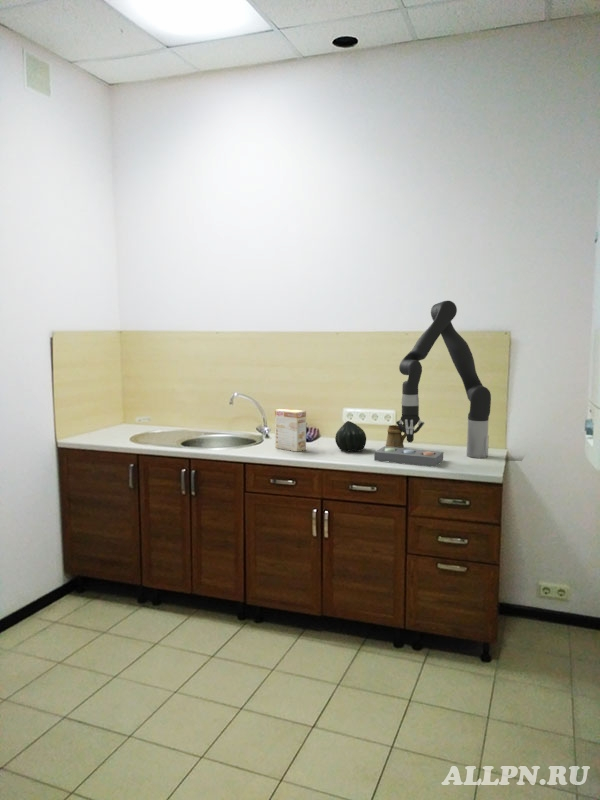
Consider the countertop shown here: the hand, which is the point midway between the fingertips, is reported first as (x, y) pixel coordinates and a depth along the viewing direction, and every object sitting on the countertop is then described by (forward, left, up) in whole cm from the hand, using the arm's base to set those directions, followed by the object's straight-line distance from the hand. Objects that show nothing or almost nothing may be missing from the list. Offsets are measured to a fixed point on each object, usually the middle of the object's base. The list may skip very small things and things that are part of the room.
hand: (410, 442), depth 278 cm
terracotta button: (-8, 0, -7) cm, 11 cm away
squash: (+33, -9, -9) cm, 35 cm away
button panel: (+1, 0, -9) cm, 9 cm away
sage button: (+10, 0, -7) cm, 12 cm away
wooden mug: (+13, -23, -9) cm, 28 cm away
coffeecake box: (+61, +1, -9) cm, 61 cm away
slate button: (+1, 0, -7) cm, 7 cm away
